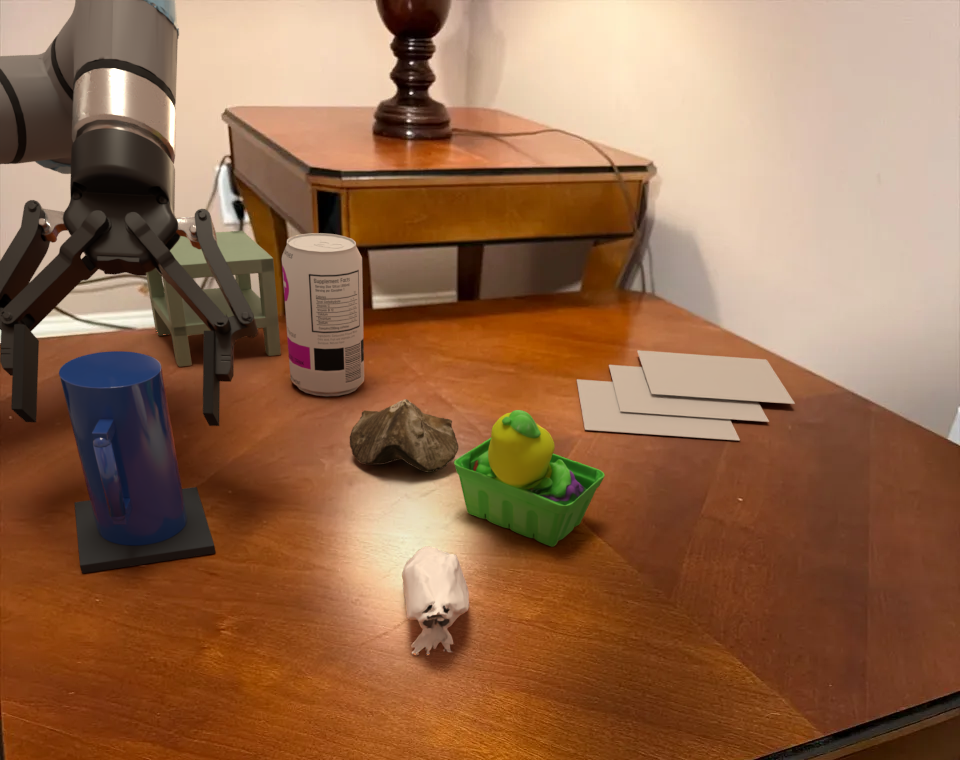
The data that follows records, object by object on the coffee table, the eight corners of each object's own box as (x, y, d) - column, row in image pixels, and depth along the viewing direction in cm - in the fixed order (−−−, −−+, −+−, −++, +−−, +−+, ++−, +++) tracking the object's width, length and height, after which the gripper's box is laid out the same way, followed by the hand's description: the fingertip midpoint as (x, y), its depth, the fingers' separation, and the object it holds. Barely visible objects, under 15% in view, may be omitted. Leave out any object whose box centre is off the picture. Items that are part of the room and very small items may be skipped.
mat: (76, 510, 74) (74, 501, 73) (197, 494, 77) (196, 486, 76) (82, 573, 66) (79, 565, 66) (215, 553, 70) (214, 545, 69)
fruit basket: (600, 522, 77) (621, 402, 70) (551, 566, 71) (569, 439, 64) (493, 483, 82) (502, 366, 75) (439, 520, 76) (443, 397, 69)
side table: (178, 367, 99) (163, 266, 92) (155, 332, 107) (139, 236, 100) (281, 354, 104) (273, 258, 97) (251, 322, 112) (242, 230, 105)
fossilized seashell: (472, 431, 85) (383, 424, 89) (450, 386, 79) (357, 380, 83) (448, 496, 82) (358, 485, 86) (424, 454, 77) (328, 445, 80)
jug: (107, 501, 73) (72, 349, 65) (193, 501, 74) (168, 352, 66) (79, 565, 66) (35, 402, 58) (174, 564, 67) (144, 404, 59)
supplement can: (279, 391, 95) (267, 246, 86) (308, 365, 101) (300, 228, 92) (349, 403, 94) (344, 257, 85) (374, 376, 100) (372, 237, 91)
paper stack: (816, 446, 93) (819, 439, 92) (584, 429, 92) (585, 423, 92) (765, 364, 111) (766, 359, 111) (571, 350, 110) (572, 345, 110)
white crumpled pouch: (483, 661, 63) (460, 560, 69) (475, 604, 58) (451, 499, 64) (416, 674, 63) (399, 572, 69) (402, 618, 58) (384, 512, 63)
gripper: (291, 193, 73) (291, 437, 71) (-24, 177, 70) (-34, 431, 68) (281, 133, 66) (281, 403, 63) (-71, 111, 63) (-84, 394, 60)
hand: (118, 418), depth 66 cm, fingers open, 13 cm apart
